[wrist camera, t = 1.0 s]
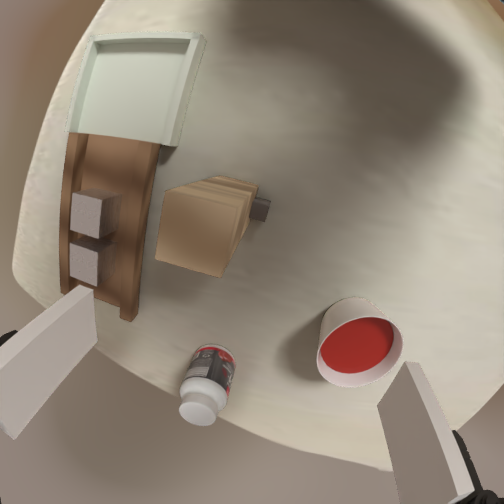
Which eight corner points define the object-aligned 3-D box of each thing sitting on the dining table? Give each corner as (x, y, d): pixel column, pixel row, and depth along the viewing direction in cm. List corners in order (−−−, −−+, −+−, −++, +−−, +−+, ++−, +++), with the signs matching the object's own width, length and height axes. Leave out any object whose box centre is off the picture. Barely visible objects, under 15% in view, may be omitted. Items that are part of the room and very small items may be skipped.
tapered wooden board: (205, 172, 28) (141, 185, 15) (273, 189, 28) (265, 215, 15) (197, 210, 29) (132, 252, 16) (263, 227, 29) (247, 285, 16)
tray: (100, 40, 24) (90, 35, 22) (206, 40, 24) (200, 32, 22) (76, 132, 28) (64, 131, 26) (177, 146, 28) (169, 145, 25)
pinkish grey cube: (90, 233, 31) (69, 242, 27) (116, 241, 30) (97, 252, 27) (88, 263, 32) (70, 275, 28) (114, 273, 32) (97, 286, 28)
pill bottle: (243, 369, 35) (231, 427, 26) (208, 378, 36) (189, 432, 27) (224, 337, 34) (205, 394, 25) (187, 348, 35) (161, 401, 26)
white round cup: (388, 341, 32) (404, 373, 26) (320, 360, 34) (325, 395, 28) (381, 277, 30) (400, 304, 24) (303, 299, 31) (307, 331, 25)
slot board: (84, 133, 28) (69, 132, 25) (164, 144, 28) (152, 143, 25) (73, 283, 34) (60, 292, 31) (141, 310, 34) (130, 322, 31)
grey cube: (94, 187, 29) (72, 192, 25) (122, 194, 29) (101, 199, 25) (90, 221, 30) (70, 229, 26) (118, 229, 30) (98, 238, 26)
